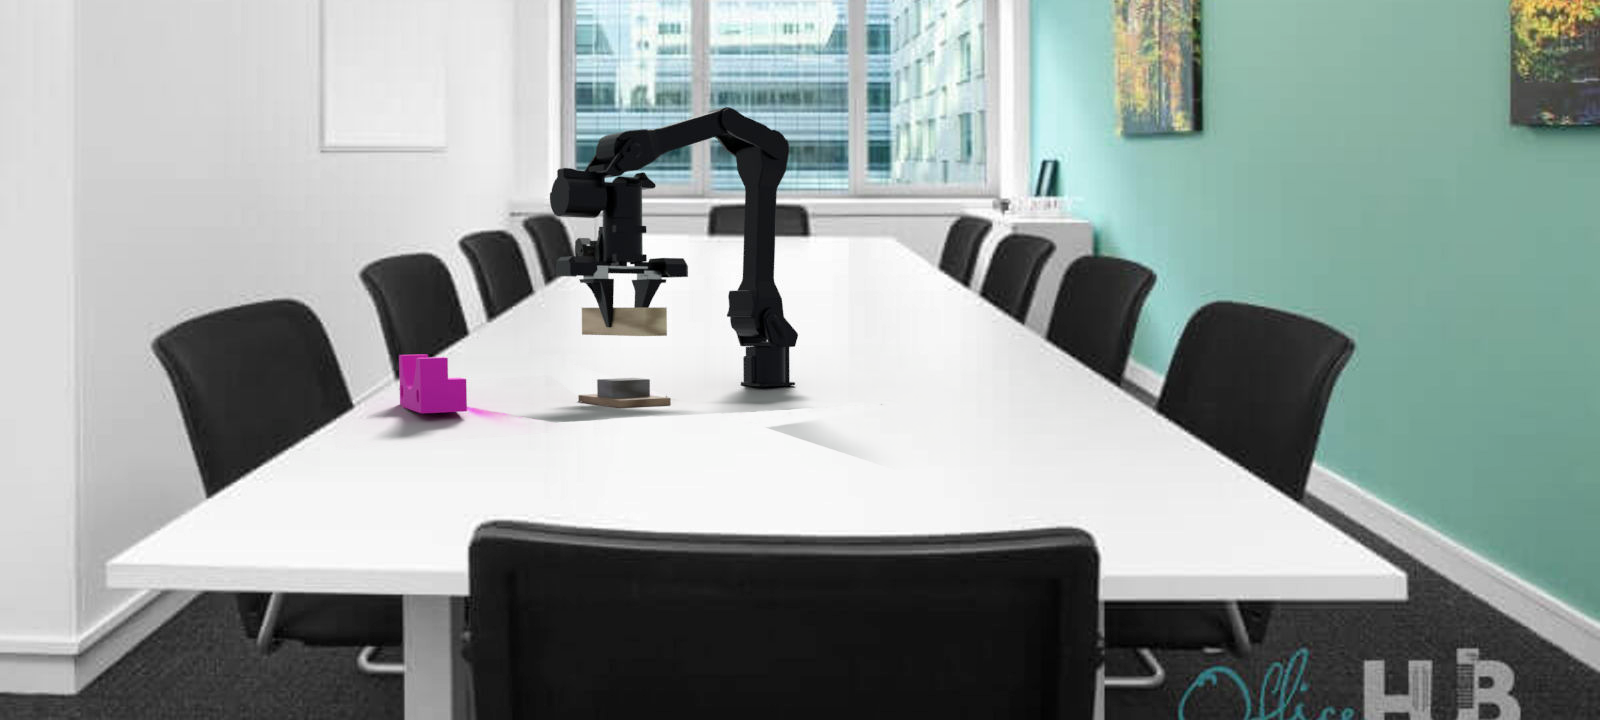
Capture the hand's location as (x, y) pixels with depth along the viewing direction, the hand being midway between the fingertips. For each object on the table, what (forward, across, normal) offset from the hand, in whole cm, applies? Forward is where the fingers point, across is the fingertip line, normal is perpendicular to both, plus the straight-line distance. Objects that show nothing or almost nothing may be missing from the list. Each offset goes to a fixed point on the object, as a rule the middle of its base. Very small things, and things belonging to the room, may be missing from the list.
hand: (623, 327), depth 195 cm
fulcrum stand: (+11, 0, 0) cm, 11 cm away
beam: (+1, 0, 0) cm, 1 cm away
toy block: (+12, +25, -11) cm, 29 cm away
